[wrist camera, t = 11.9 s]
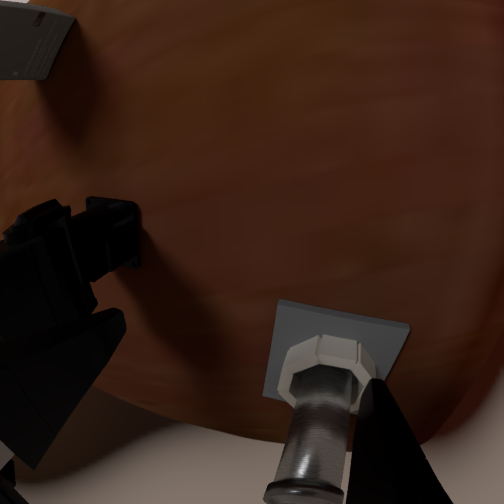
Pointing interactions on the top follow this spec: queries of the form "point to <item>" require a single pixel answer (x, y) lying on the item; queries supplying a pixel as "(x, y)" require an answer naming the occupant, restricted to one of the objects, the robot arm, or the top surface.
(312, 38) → the top surface
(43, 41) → the skincare box
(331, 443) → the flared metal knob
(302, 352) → the dock
